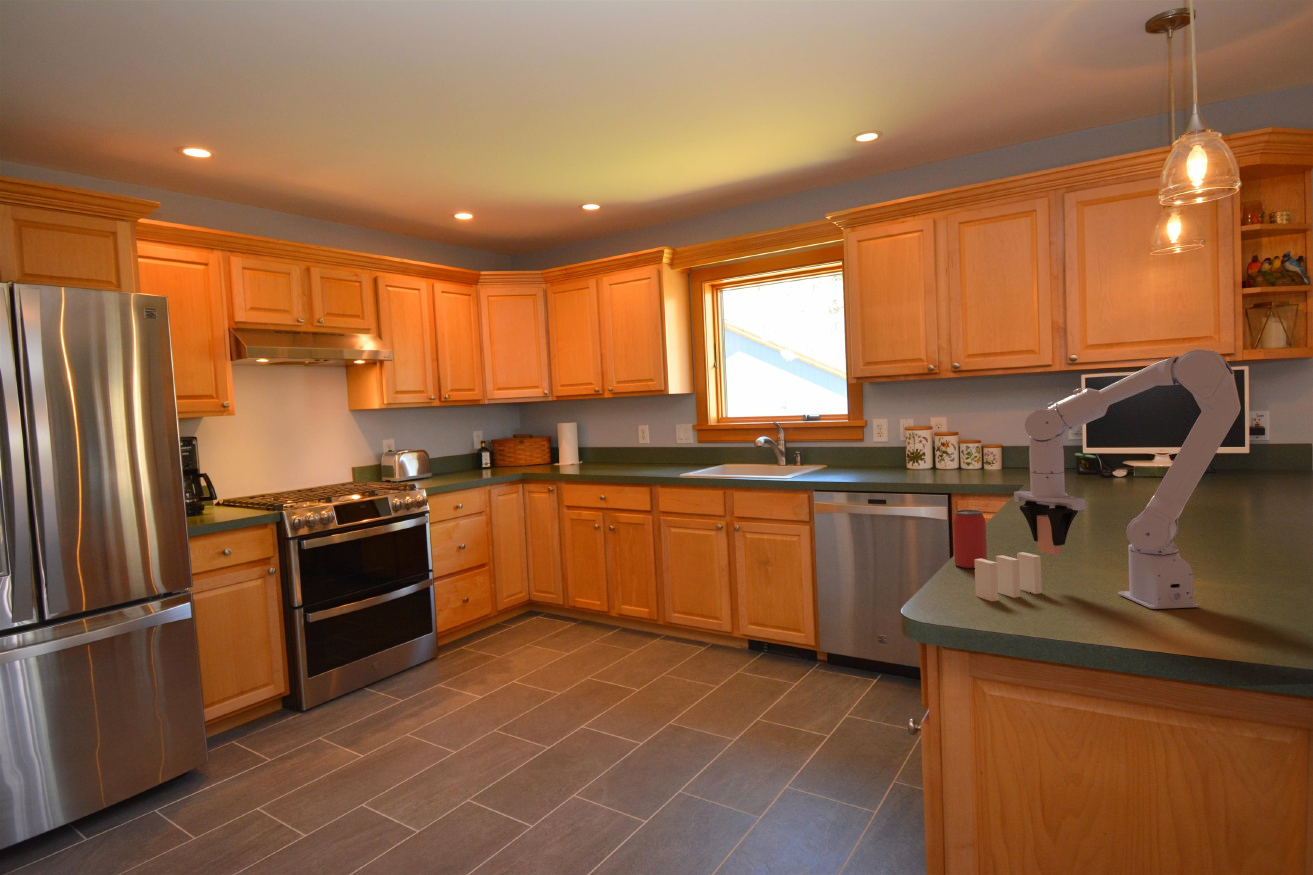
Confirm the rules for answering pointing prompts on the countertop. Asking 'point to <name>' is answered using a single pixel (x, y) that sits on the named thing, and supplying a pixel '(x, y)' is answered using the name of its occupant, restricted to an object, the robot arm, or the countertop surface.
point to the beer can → (969, 537)
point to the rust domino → (1046, 536)
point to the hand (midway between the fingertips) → (1049, 542)
